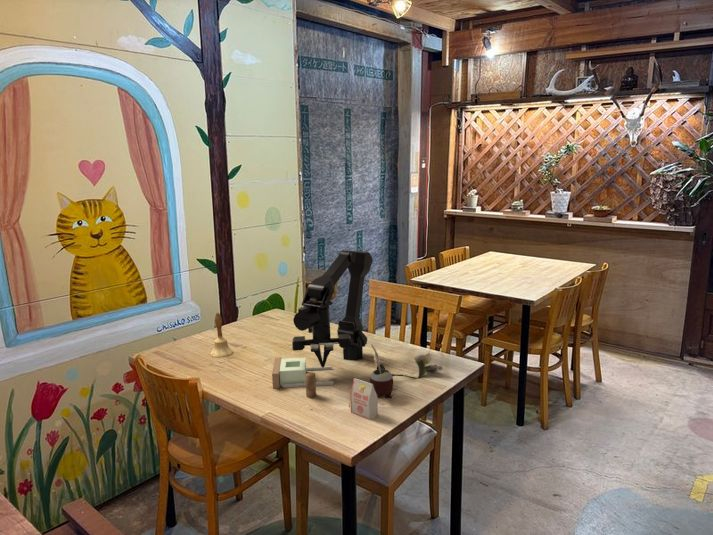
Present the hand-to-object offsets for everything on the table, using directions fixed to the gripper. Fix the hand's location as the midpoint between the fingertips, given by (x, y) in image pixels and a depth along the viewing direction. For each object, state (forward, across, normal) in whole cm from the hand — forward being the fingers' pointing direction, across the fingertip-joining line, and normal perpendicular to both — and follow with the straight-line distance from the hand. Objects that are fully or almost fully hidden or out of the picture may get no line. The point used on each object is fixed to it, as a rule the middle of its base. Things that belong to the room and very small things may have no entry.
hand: (322, 366), depth 168 cm
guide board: (+5, +6, 0) cm, 7 cm away
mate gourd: (+5, -17, +14) cm, 23 cm away
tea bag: (+5, -11, +24) cm, 27 cm away
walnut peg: (+5, +4, +13) cm, 14 cm away
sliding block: (+4, +10, 0) cm, 10 cm away
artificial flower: (+5, -28, +1) cm, 29 cm away
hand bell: (+5, +38, -29) cm, 48 cm away
